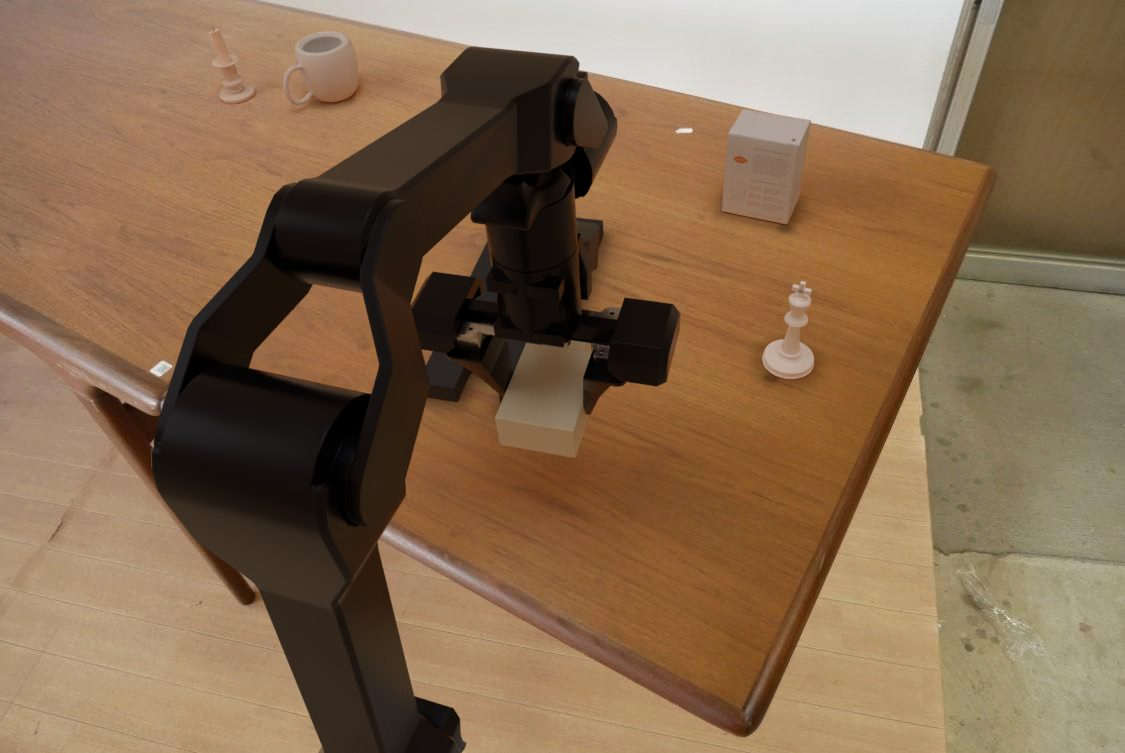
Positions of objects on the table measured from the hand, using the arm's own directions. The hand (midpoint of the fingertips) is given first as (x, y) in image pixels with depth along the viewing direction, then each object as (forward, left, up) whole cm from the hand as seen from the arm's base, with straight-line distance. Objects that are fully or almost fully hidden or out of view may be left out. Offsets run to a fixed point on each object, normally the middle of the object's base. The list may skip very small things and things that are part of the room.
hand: (550, 403), depth 65 cm
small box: (+44, -13, -11) cm, 47 cm away
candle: (+59, +65, -11) cm, 88 cm away
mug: (+60, +51, -11) cm, 80 cm away
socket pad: (+22, +10, -11) cm, 26 cm away
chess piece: (+19, -18, -11) cm, 29 cm away
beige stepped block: (+2, 0, -1) cm, 2 cm away
